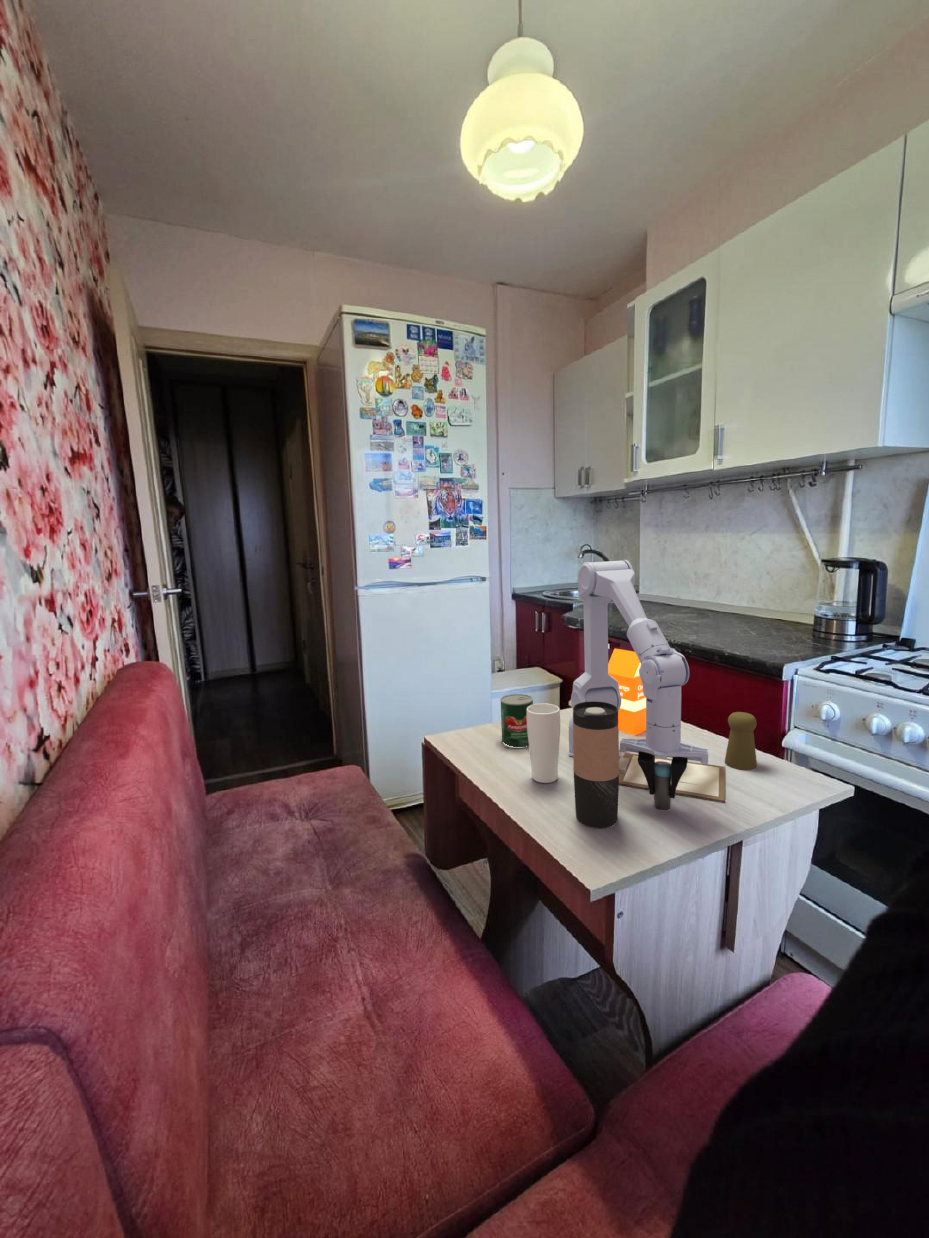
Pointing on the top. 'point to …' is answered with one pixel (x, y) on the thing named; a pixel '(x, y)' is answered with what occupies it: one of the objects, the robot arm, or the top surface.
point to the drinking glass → (543, 741)
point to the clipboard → (692, 783)
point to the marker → (662, 785)
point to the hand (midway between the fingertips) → (662, 794)
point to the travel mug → (596, 763)
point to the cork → (741, 742)
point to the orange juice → (629, 691)
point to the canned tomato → (515, 719)
